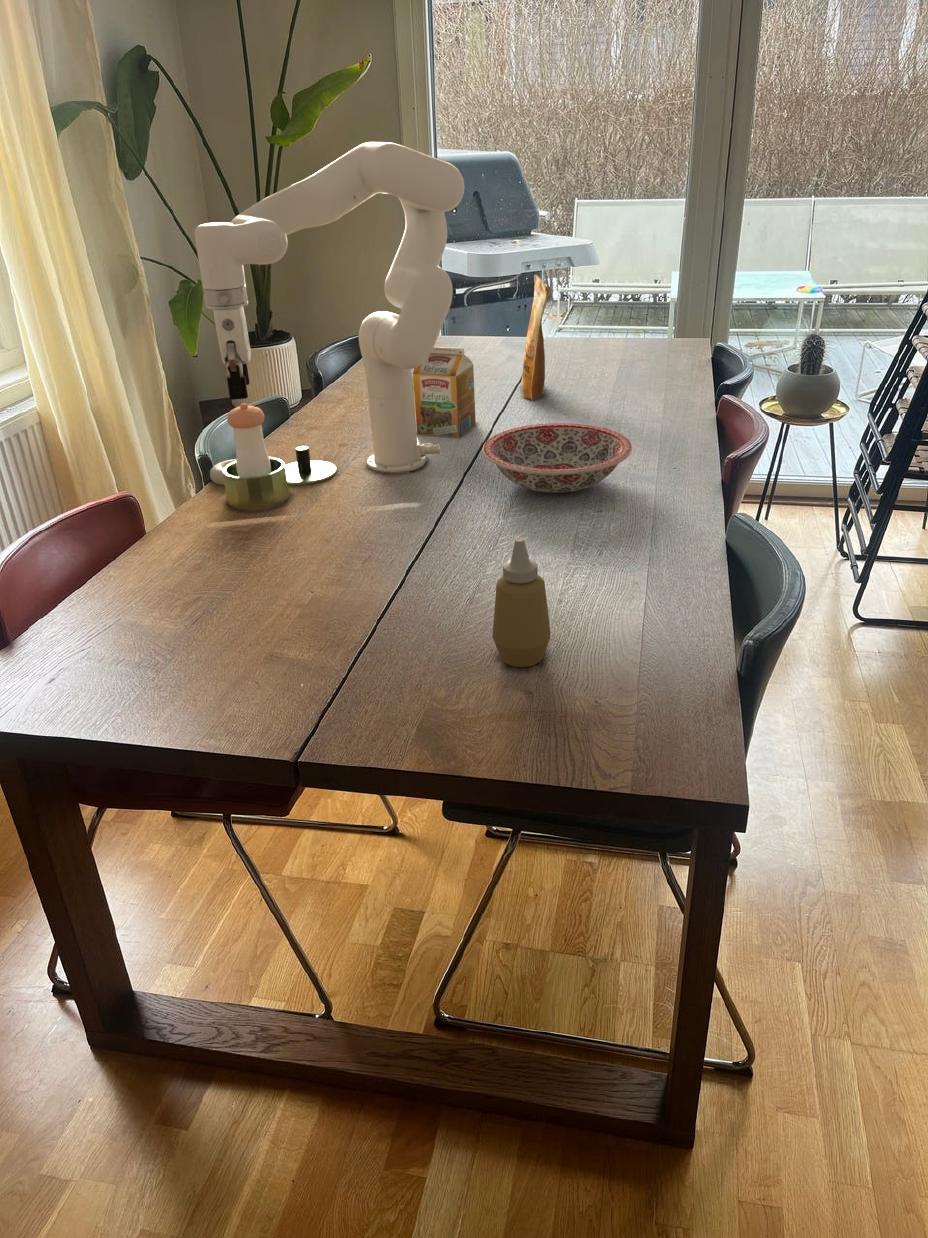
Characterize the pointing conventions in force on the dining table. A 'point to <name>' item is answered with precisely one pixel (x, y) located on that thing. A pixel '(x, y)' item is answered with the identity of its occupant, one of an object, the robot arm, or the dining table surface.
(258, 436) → the pepper shaker
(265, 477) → the pot
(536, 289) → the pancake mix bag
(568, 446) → the ceramic bowl
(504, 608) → the squeeze bottle
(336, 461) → the dining table surface
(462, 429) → the milk carton
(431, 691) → the dining table surface
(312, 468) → the lid
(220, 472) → the donut
